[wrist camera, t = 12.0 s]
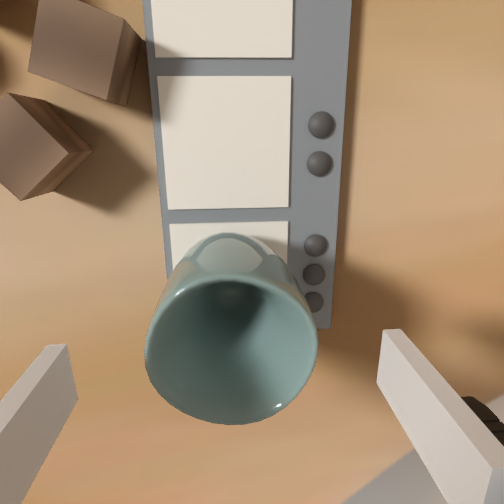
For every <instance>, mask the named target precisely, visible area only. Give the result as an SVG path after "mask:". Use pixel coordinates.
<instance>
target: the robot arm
mask: <svg viewBox="0 0 504 504" xmlns="http://www.w3.org/2000/svg"><path fill="white" fill-rule="evenodd" d="M376 383H377V385H378V387H379V388H380V390H381V392H382V393H383V395H384V397H385V398H386V400H387V402H388V403H389V405H390V407H391V408H392V410H393V412H394V414H395V415H396V417H397V419H398V420H399V422H400V424H401V425H402V427H403V429H404V430H405V432H406V434H407V435H408V437H409V439H410V440H411V442H412V444H413V446H414V447H415V449H416V451H417V452H418V454H419V456H420V457H421V459H422V460H423V462H424V464H425V466H426V467H427V469H428V471H429V472H430V474H431V476H432V477H433V479H434V481H435V482H436V484H437V486H438V488H439V489H440V491H441V492H442V494H443V496H444V498H445V499H446V501H447V503H448V504H504V424H503V423H502V422H500V421H499V419H498V418H497V416H496V415H495V414H494V413H493V412H492V411H491V410H490V409H489V408H488V407H487V406H485V405H484V404H482V403H481V402H479V401H478V400H476V399H475V398H473V397H460V396H459V395H458V394H457V393H456V392H455V390H454V389H453V388H452V387H451V386H450V385H449V384H448V382H447V381H446V380H445V379H444V378H443V377H442V376H441V374H440V373H439V372H438V371H437V370H436V369H435V368H434V366H433V365H432V364H431V363H430V362H429V361H428V360H427V358H426V357H425V356H424V355H423V354H422V353H421V352H420V351H419V349H418V348H417V347H416V346H415V345H414V344H413V343H412V341H411V340H410V339H409V338H408V337H407V336H406V335H405V333H404V332H403V331H402V330H401V329H386V330H383V334H382V342H381V350H380V358H379V366H378V374H377V382H376ZM77 400H78V396H77V391H76V386H75V382H74V377H73V372H72V367H71V362H70V357H69V352H68V348H67V344H53V345H47V346H46V347H45V348H44V349H43V350H42V352H41V353H40V354H39V355H38V356H37V358H36V359H35V360H34V361H33V362H32V364H31V365H30V366H29V367H28V368H27V370H26V371H25V372H24V373H23V374H22V376H21V377H20V378H19V379H18V380H17V382H16V383H15V384H14V385H13V387H12V388H11V389H10V390H9V391H8V393H7V394H6V395H5V396H4V397H3V399H2V400H1V401H0V504H21V502H22V501H23V499H24V497H25V495H26V493H27V492H28V490H29V488H30V486H31V484H32V482H33V481H34V479H35V477H36V475H37V473H38V471H39V470H40V468H41V466H42V464H43V462H44V461H45V459H46V457H47V455H48V453H49V451H50V450H51V448H52V446H53V444H54V442H55V440H56V439H57V437H58V435H59V433H60V431H61V430H62V428H63V426H64V424H65V422H66V420H67V419H68V417H69V415H70V413H71V411H72V409H73V408H74V406H75V404H76V402H77Z"/></svg>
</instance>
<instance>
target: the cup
mask: <svg viewBox="0 0 504 504" xmlns="http://www.w3.org/2000/svg"><path fill="white" fill-rule="evenodd" d="M318 344H319V338H318V332H317V326H316V322H315V319H314V316H313V314H312V312H311V309H310V307H309V305H308V303H307V301H306V299H305V297H304V294H303V292H302V290H301V288H300V286H299V284H298V282H297V280H296V278H295V276H294V275H293V273H292V271H291V270H290V268H289V267H288V266H287V264H286V263H285V262H284V260H283V259H282V258H281V257H280V255H279V254H278V253H276V252H275V251H274V250H273V249H272V248H271V247H269V246H268V245H267V244H265V243H263V242H262V241H260V240H258V239H256V238H254V237H251V236H249V235H246V234H242V233H236V232H220V233H216V234H211V235H209V236H207V237H205V238H203V239H201V240H199V241H198V242H197V243H196V244H194V245H193V246H192V247H191V248H190V249H189V250H188V251H187V252H186V253H185V254H184V256H183V257H182V258H181V259H180V260H179V262H178V263H177V265H176V267H175V268H174V270H173V272H172V274H171V275H170V277H169V279H168V281H167V283H166V285H165V287H164V289H163V291H162V294H161V296H160V298H159V300H158V303H157V305H156V308H155V310H154V313H153V316H152V319H151V322H150V324H149V327H148V330H147V334H146V341H145V348H144V357H145V368H146V371H147V374H148V376H149V379H150V382H151V383H152V385H153V386H154V388H155V389H156V390H157V392H158V393H159V394H160V395H161V396H162V397H163V398H164V399H165V400H166V401H167V402H168V403H169V404H170V405H172V406H174V407H175V408H177V409H178V410H180V411H182V412H183V413H185V414H188V415H190V416H192V417H195V418H197V419H200V420H204V421H207V422H211V423H217V424H225V425H243V424H249V423H254V422H258V421H261V420H264V419H266V418H268V417H271V416H273V415H274V414H276V413H277V412H279V411H280V410H282V409H283V408H285V407H286V406H287V405H288V404H289V403H290V402H291V401H292V400H293V399H295V398H296V397H297V395H298V394H299V393H300V391H301V390H302V389H303V387H304V386H305V385H306V383H307V381H308V379H309V377H310V375H311V373H312V371H313V369H314V366H315V363H316V359H317V356H318Z"/></svg>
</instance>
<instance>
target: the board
mask: <svg viewBox="0 0 504 504" xmlns="http://www.w3.org/2000/svg"><path fill="white" fill-rule="evenodd" d="M142 2H143V13H144V24H145V35H146V47H147V58H148V69H149V80H150V92H151V103H152V114H153V126H154V137H155V148H156V159H157V171H158V182H159V193H160V204H161V216H162V227H163V238H164V250H165V261H166V272H167V281H168V279H169V277H170V275H171V274H172V272H173V270H174V268H175V267H176V265H177V263H178V262H179V260H180V259H181V258H182V257H183V256H184V254H185V253H186V252H187V251H188V250H189V249H190V248H191V247H192V246H193V245H194V244H196V243H197V242H198V241H199V240H201V239H203V238H205V237H207V236H209V235H211V234H216V233H220V232H236V233H242V234H246V235H249V236H251V237H254V238H256V239H258V240H260V241H262V242H263V243H265V244H267V245H268V246H269V247H271V248H272V249H273V250H274V251H275V252H276V253H278V254H279V255H280V257H281V258H282V259H283V260H284V262H285V263H286V264H287V266H288V267H289V268H290V270H291V271H292V273H293V275H294V276H295V278H296V280H297V282H298V284H299V286H300V288H301V290H302V292H303V294H304V297H305V299H306V301H307V303H308V305H309V307H310V309H311V312H312V314H313V316H314V319H315V322H316V326H317V329H331V315H332V299H333V284H334V268H335V253H336V237H337V222H338V207H339V191H340V176H341V160H342V145H343V129H344V114H345V99H346V83H347V68H348V52H349V37H350V21H351V6H352V0H142Z"/></svg>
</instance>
